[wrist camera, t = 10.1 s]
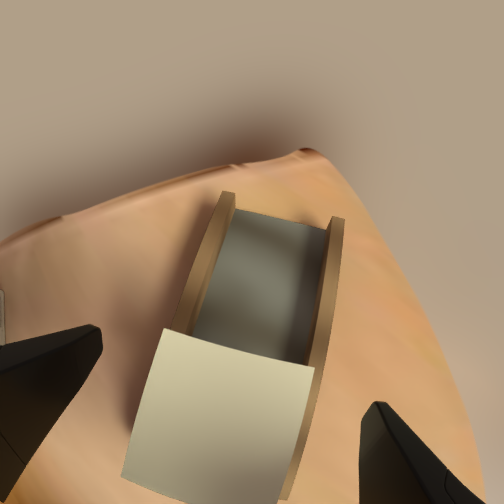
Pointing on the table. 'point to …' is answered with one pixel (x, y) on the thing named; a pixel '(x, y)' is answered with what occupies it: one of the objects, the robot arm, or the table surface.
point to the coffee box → (2, 319)
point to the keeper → (216, 423)
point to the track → (265, 294)
